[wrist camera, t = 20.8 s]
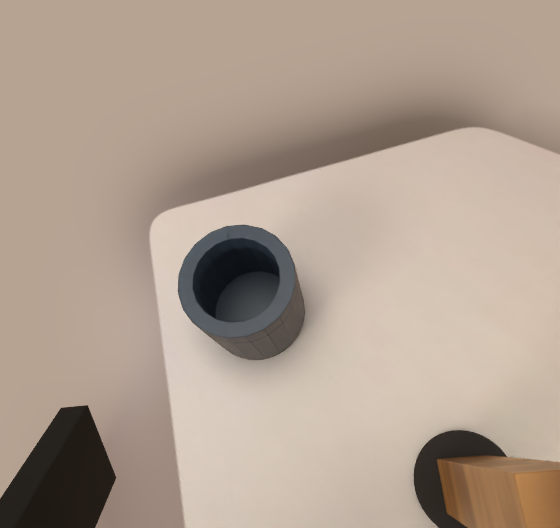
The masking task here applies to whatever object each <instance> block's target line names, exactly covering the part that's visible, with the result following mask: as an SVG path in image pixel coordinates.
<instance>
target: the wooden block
mask: <svg viewBox="0 0 560 528" xmlns="http://www.w3.org/2000/svg"><path fill="white" fill-rule="evenodd" d="M437 463H438V469H439V474H440V479H441V484H442V490H443V495H444V500H445V505H446V511H447V514H448V515H450V516H451V517H453V518H454V519H456V520H457V521H459V522H460V523H462V524H463V525H465V526H466V527H468V528H560V462H553V461H542V460H532V459H521V458H511V457H500V456H489V455H481V456H469V457H457V458H444V459H437Z"/></svg>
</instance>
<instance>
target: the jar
mask: <svg viewBox="0 0 560 528" xmlns="http://www.w3.org/2000/svg"><path fill="white" fill-rule="evenodd" d="M178 294H179V298H180V301H181V304H182V308H183V310H184V311H185V313H186V314H187V315H188V317H189V318H190V320H191V321H192V322H193V323H194V324H195V325H196V326H197V327H199V328H200V329H201V330H202V331H203V332H205V333H206V334H207V335H208V336H210V337H211V338H212V339H213V340H215V341H216V342H217V343H218V344H220V345H221V346H222V347H223V348H225V349H226V350H228V351H229V352H231V353H232V354H234V355H236V356H238V357H241V358H245V359H251V360H261V359H267V358H270V357H273V356H275V355H277V354H280V353H281V352H283V351H284V350H285V349H287V348H288V347H289V346H290V345H291V344H292V343H293V342H294V340H295V339H296V338H297V336H298V334H299V332H300V331H301V328H302V325H303V321H304V313H305V310H304V300H303V296H302V292H301V288H300V284H299V281H298V277H297V273H296V269H295V265H294V262H293V260H292V258H291V255H290V253H289V251H288V249H287V248H286V246H285V245H284V244H283V243H282V242H281V241H280V240H279V239H278V238H277V237H276V236H275V235H273V234H271V233H270V232H268V231H266V230H264V229H262V228H258V227H253V226H248V225H235V226H226V227H223V228H221V229H218V230H216V231H213V232H210V233H209V234H208V235H206V236H205V237H204V238H202V239H201V240H200V241H199V242H197V243H196V244H195V245H194V246H193V248H192V249H191V250H190V252H189V253H188V254H187V256H186V257H185V259H184V262H183V264H182V267H181V270H180V273H179V279H178Z"/></svg>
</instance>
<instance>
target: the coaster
mask: <svg viewBox="0 0 560 528" xmlns="http://www.w3.org/2000/svg"><path fill="white" fill-rule="evenodd" d="M481 455H489V456H500V457H507V456H506V455H505V454H504V452H503V451H502V450H501V449H500V448H499V447H498V446H497V445H496V444H494V443H493V442H492V441H490V440H489V439H487V438H485V437H483V436H481V435H479V434H476V433H474V432H469V431H462V430H458V431H449V432H445V433H442V434H439V435H437V436H435V437H434V438H432V439H431V440H430V441H429V442H428V443H427V444H426V445H425V446H424V447H423V448H422V450H421V452H420V453H419V455H418V458H417V460H416V464H415V469H414V485H415V490H416V494H417V497H418V500H419V502H420V504H421V506H422V508H423V510H424V511H425V513H426V514H427V515H428V517H429V518H430V519H431V520H432V521H433V522H434V523H435V524H436V525H437V526H438V527H439V528H468V527H466V526H465V525H463V524H462V523H460V522H459V521H457V520H456V519H454V518H453V517H451V516H450V515H448V514H447V511H446V505H445V500H444V495H443V490H442V484H441V479H440V474H439V469H438V463H437V459H444V458H457V457H469V456H481Z"/></svg>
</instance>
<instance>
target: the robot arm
mask: <svg viewBox="0 0 560 528" xmlns="http://www.w3.org/2000/svg"><path fill="white" fill-rule="evenodd" d="M115 479H116V476H115V473H114V471H113V469H112V466H111V464H110V461H109V458H108V456H107V453H106V451H105V448H104V446H103V443H102V441H101V438H100V435H99V433H98V431H97V428H96V425H95V423H94V420H93V418H92V415H91V413H90V410H89V408H88V406H76V407H66V408H61V409H60V410H59V412H58V413H57V415H56V416H55V418H54V419H53V421H52V422H51V424H50V425H49V427H48V429H47V430H46V431H45V433H44V434H43V436H42V437H41V439H40V440H39V442H38V443H37V445H36V446H35V448H34V449H33V451H32V452H31V454H30V455H29V457H28V458H27V460H26V461H25V463H24V464H23V466H22V467H21V469H20V470H19V472H18V473H17V475H16V476H15V478H14V479H13V481H12V482H11V484H10V485H9V487H8V488H7V490H6V491H5V493H4V494H3V496H2V497H1V499H0V528H95V527H96V524H97V522H98V519H99V517H100V514H101V512H102V510H103V508H104V505H105V503H106V500H107V498H108V496H109V493H110V491H111V489H112V486H113V484H114V482H115Z"/></svg>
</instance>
